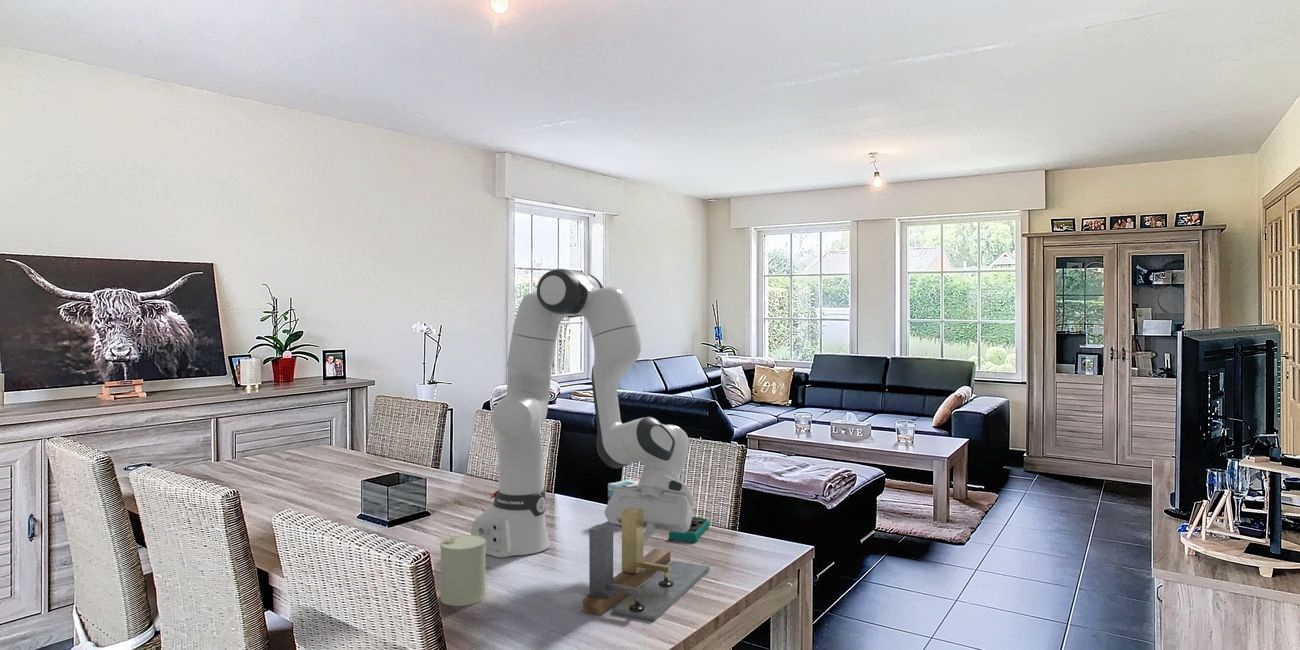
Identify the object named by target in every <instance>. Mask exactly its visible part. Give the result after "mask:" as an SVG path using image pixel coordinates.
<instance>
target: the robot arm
mask: <svg viewBox="0 0 1300 650" xmlns="http://www.w3.org/2000/svg"><path fill="white" fill-rule="evenodd" d="M578 317H583V318H584V319H585V320H586V323H588V326H589V330H590V334H591V338H592V343H593V350H594V361H593V365H592V368H591V372H590V373H591V374H590V376H591V387H592V395H593V397H592V398H593V403H594V405H593V406H594V411H595V413H594V414H595V420H596V429H597V432H596V449H597V453H598V456H599V458H601V460H602V461H603V463H604V464H606V466H608V467H609V468H611V469H612V468H613V469H620V468H624V467H626V466H629V465H631V464H634V463H639V462H641V463H642V464H643V466H644V467H643V470H642V472H641V475H640V478H639V479H640V480H639V483H638V486H637V487H634V486H625V485H622V486H621V487H618V488H616V489H615V490H614V492H613V495H612V497H611V499H610V501H609V503H608V502H607V505H606V506H605V509H604V515H605V518H606V519H607V522H609V523H610V524H614V525H617V524H622V511H624V510H625V509H627V508H637V509H643V529H644V528H645V529H646V530H645V531H643V546H646V545H647V542H648V540H649V539H650V538H651V537H652V536H653V535H654V534H655V533H656V530H661V531H666V532H667V531H668V532H670V531H672V532H680V533H685V532H687V531H688V530H689V528H690V525H691V520H692V517H693V511H694V510H693V508H692V506H693V504H694V497H693V494H692V492H691V490H690V488H689V487H688V486H687V485H686V484H685V483H684V482H681V481H680V480H679V479H680V475H681V474H682V471H683V470H684V467H685V464H686V461H687V457H688V453H689V446H690V445H689V437H688V434H687V432H686V431H685V430H684V429H682V428H681V427H679V426H677V425H676V424H675V425H674V424H664V423H661V422H660V421H659V420H658V419H656V418H655V417H652V416H646V417H641V418H637V419H632V420H631V421H627V422H624V423H623V422H622V420H621V412H620V411H621V410H620V405H619V396H618V387H619V383H620V381H621V380H622V378H623V376H624V375H625V374H626V373H627V372H628V370H629V369H631V368H632V367H633V366H634V365H635V363H636V362H637V361H638V358H639V356H640V355H641V351H642V348H641V347H642V346H641V345H642V344H641V341H642V340H641V335H640V334H639V329H638V326H637V325H638V324H637V322H636V319H635V315H634V313H633V310H632V307H631V305H630V304H629V301H628V298H627V297H626V295H625V293H624V292H623V290H621V289H619V288H617V287H614V286H606V287H605V286H604V285H603V284H602V283H601V281H600V280H599V279H598V278H597V277H596V276H594V275H592V274H589V273H585V272H582V271H579V270H576V269H575V270H573V269H572V270H570V269H569V270H568V269H565V268H558V269H557V268H556V269H552V270H550V271H547V272H545V273H544V274H543V275H542V276H541V277H540V278H539V281H538V282H537V286H536V292H530V293H528V294H526V295H524V296H523V297H522V299H521V301H520V304H519V306H518V309H517V312H516V315H515V320H514V322H513V327H512V334H511V337H510V343H509V344H510V345H509V350H508V354H507V355H508V357H507V362H506V367H507V379H506V380H507V381H506V383H507V384H506V393H505V396H504V397H502V398H501V399H500V400H499V401H498V402H497V404H496V405H495V407H494V409H493V413H492V416H491V418H492V419H491V422H492V426H493V427H492V428H494V437H495V443H496V448H497V449H496V450H497V451H496V452H497V458H498V490H496V491H495V492H492V493H490V494H489V496H490V497H489V500H491V499H493V498H494V499H493V502H492V505H490V506H489V507H488V508H487V509H486V510H485V511H483V512H482V513H481V514H480V515H478V516H476V518H474V520H473V522H472V525H471V527H470V535H474V536H480V537H483V538H484V539H485V540H486V546H485V555H489V556H493V557H495V558H508V557H513V556H525V555H531V554H537V553H540V552H543V551H545V550H547V549H549V548H550V546H551V541H550V537H549V534H548V530H547V529H548V528H547V523H546V514H545V511H546V488H544V487H545V486H544V485H545V484H544V483H545V482H544V480H545V475H544V474H545V473H544V470H545V468H544V467H545V464H544V459H545V458H544V455H543V449H542V441H541V431H540V430H541V429H540V428H541V426H542V424H544V422H545V420H546V418H547V416H548V409H549V401H550V389H551V376H552V369H553V367H552V366H553V363H554V362H553V361H554V357H555V356H554V355H555V350H556V344H557V339H558V331H559V327H560V324H561V322H562V321H563V319H565V318H578Z"/></svg>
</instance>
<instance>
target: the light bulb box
mask: <svg viewBox="0 0 1300 650" xmlns="http://www.w3.org/2000/svg"><path fill="white" fill-rule="evenodd" d="M639 480H640V478H630V479H626V480H625V479H624V480H620V481H616V482H609V483H607V504H608V503H609V501H610V499H611V497H612V495H613V492H614V490H615V489H616V488H618V487H621V486H622V485H625V486H634V487H637V486H638V483H639ZM620 525H621V527H622V524H618V526H620Z"/></svg>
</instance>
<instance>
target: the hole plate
mask: <svg viewBox="0 0 1300 650" xmlns="http://www.w3.org/2000/svg"><path fill="white" fill-rule="evenodd" d="M667 565H668V566H671V571H670V572H669V582H664V572H663V571H657V572H656V573H655V574H654V575H652V576H651V577H650V578H648V579H647V580H646V581H644V582H643V583H642V584H641V585H639V586H638V588H642V594H641V595H640V606H635V595H632V594H628V595H626V596H625V597H624V598H623V599H621V600H620V601H619V602H617V603H616V604H615V605H614V606H612V607H611V608H612V609H611V612H612V614H615V615H620V616H625V617H631V618H634V619H635V618H636V619H640V620H645V621H650V622H655V621H656V620H657V619H659V617H660V616H662V615H663V614H664V613H665V612H666V611H667V610H668V609H670V607H672V606H673V605H674V604H675V602H677V601H678V600H679V599H680V598H681V597H682V596H684V595H685V594H686V593H687V592H688V591H689V590H690V589H691V588H692V587H693V586H694V585H696V584H697V583H698V582H699V581H701V580H702V578H703V577H705V576H706V574H707V573H709V572H710V566H709V565H702V564H696V563H690V562H684V561H678V560H672V561H670V562H669V563H668V564H667Z"/></svg>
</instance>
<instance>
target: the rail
mask: <svg viewBox="0 0 1300 650" xmlns="http://www.w3.org/2000/svg"><path fill="white" fill-rule="evenodd" d="M643 562H650V563H656V564H662V565H668V564H669V563H671V550H667V549H661V548H654V549H652V550H651V551H649V552H648V553H646V554H645V555H643ZM657 573H658V571H657V570H651V569H645V568H643V569H642V570H641V571H640V572H638V573H637V574H634V573H629V572H623V571H622V570H621V572H619V573H618V574H617V575H615V576H613V583H614V584H620V585H625V586H631V587H636V588H639V587H640V586H641V585H642V584H644V583H645V582H646V581H648V580H649V579H650V578H651V577H653V576H654V575H655V574H657ZM628 595H629V594H627V593H622V592H617V593H615V594H614V595H613V596H611V597H610V598H609V599H607V600H605V599H599V598H594V597H589V596H585V597H584V598H583V599H582V613H586V614H591V615H596V616H602V615H603V614H604V613H606V612H607V611H609V610H610V609H611V608H613V607H614V606H616V605H617V604H618V603H619V602H621V601H622V600H623V599H624V598H626V597H627V596H628Z"/></svg>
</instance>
